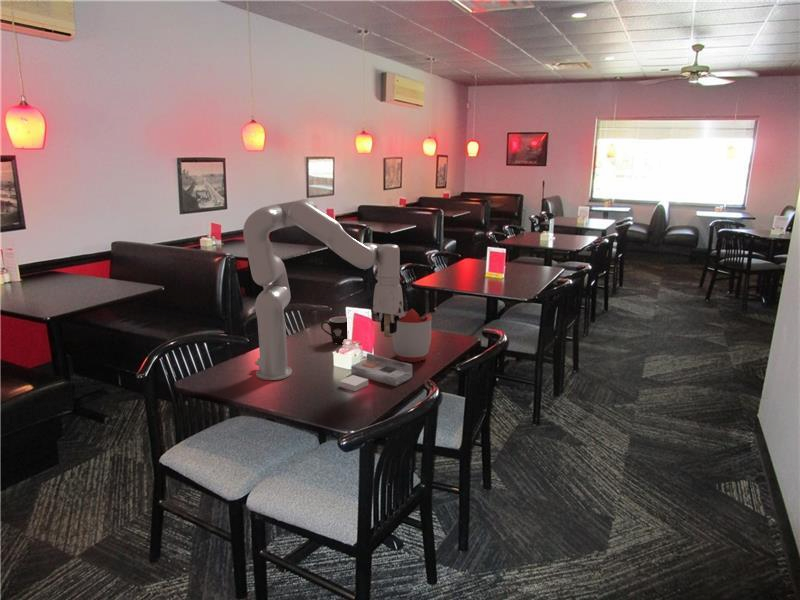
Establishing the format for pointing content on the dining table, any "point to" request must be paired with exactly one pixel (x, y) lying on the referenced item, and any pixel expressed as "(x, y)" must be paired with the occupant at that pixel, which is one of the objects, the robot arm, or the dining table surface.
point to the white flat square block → (354, 383)
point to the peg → (387, 325)
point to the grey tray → (383, 370)
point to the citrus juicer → (412, 337)
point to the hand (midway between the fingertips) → (388, 331)
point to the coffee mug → (337, 329)
